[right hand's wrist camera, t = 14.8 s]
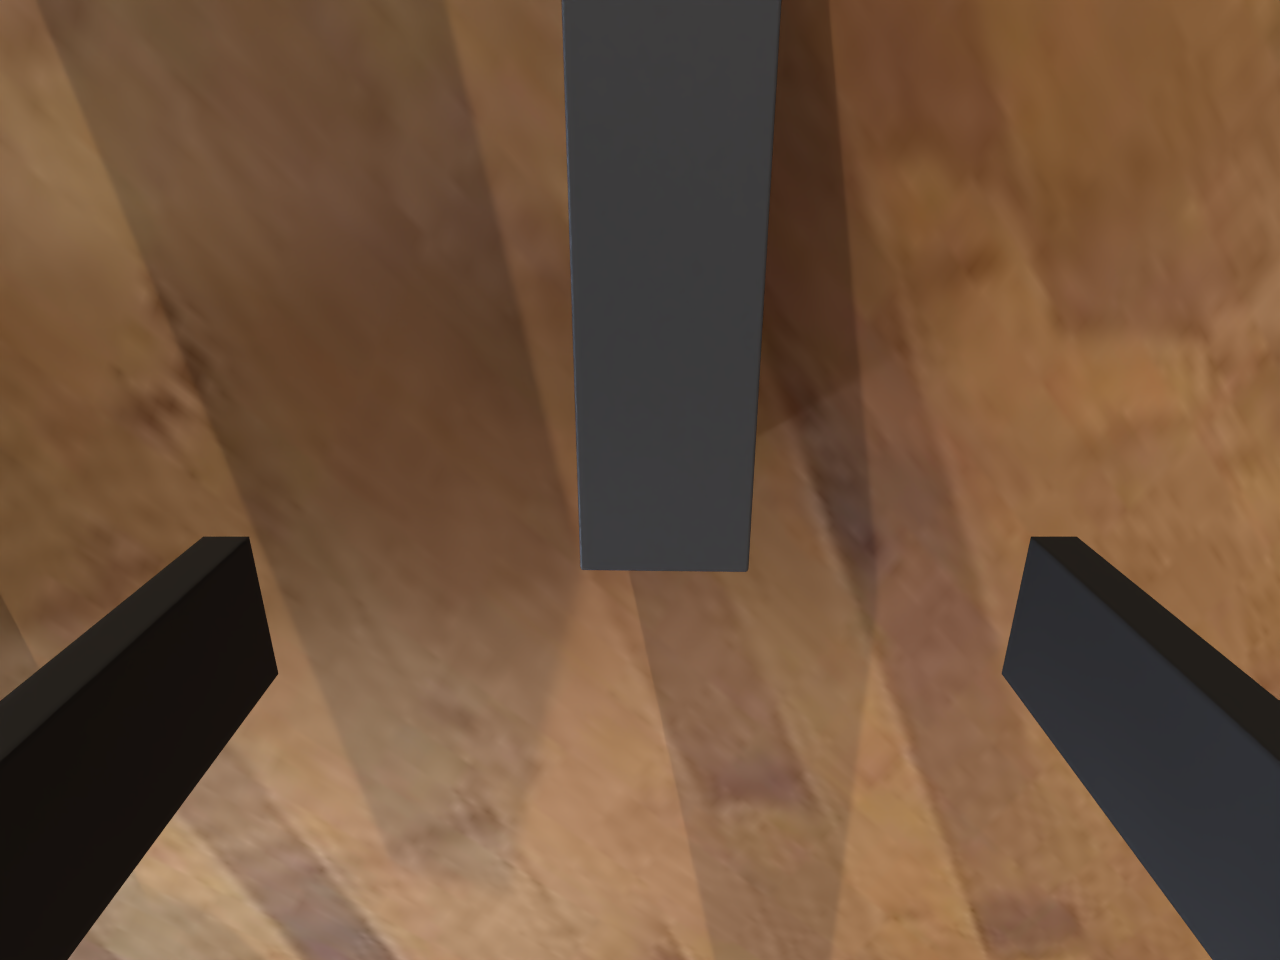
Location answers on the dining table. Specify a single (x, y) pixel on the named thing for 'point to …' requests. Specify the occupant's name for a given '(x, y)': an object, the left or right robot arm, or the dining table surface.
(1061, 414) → the dining table surface
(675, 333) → the bar
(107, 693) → the right robot arm
